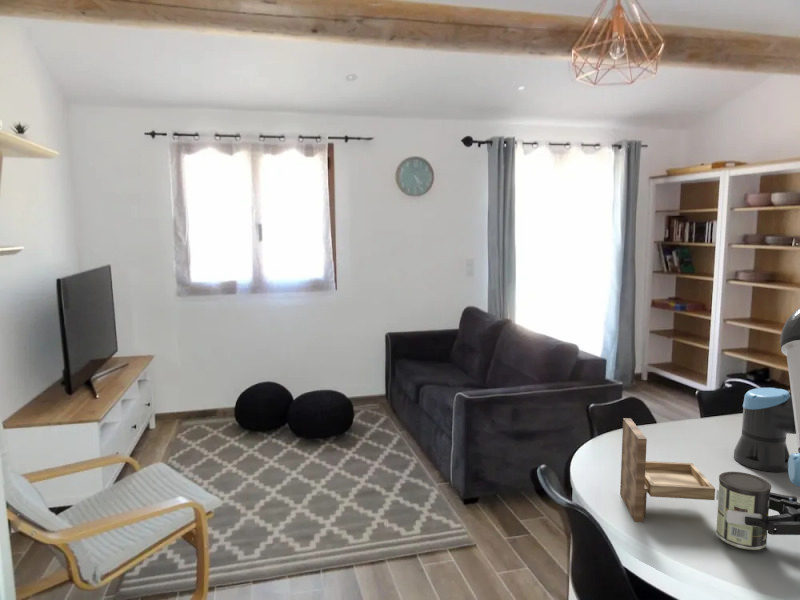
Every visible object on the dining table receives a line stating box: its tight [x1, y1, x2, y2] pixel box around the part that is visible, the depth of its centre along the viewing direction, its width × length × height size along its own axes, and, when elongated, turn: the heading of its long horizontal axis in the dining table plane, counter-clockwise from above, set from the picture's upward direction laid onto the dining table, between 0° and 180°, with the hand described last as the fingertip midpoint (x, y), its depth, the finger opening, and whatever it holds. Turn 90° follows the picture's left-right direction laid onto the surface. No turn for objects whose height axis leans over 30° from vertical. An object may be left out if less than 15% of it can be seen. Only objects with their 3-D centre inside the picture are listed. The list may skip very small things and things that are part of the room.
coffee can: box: [715, 471, 772, 551], centre depth 128 cm, size 10×10×14 cm
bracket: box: [619, 417, 716, 523], centre depth 143 cm, size 15×18×22 cm
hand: (721, 504), depth 129 cm, fingers closed on coffee can, 10 cm apart
